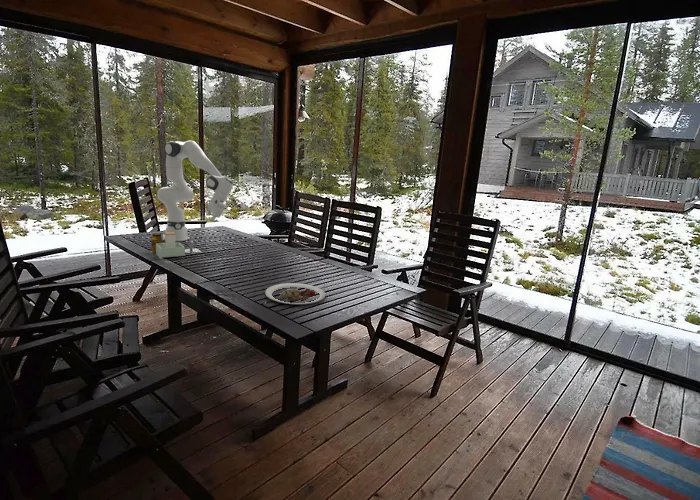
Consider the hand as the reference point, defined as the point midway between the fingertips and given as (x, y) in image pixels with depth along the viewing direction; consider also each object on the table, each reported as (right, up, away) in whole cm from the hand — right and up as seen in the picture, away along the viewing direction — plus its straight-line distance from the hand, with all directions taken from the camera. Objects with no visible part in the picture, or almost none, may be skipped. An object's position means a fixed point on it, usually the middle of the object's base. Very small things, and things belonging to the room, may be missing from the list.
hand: (210, 217), depth 264 cm
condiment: (-30, -23, -10) cm, 39 cm away
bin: (-19, -26, -18) cm, 37 cm away
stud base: (-10, -24, -6) cm, 27 cm away
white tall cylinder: (-19, -25, -18) cm, 36 cm away
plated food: (+68, -45, -68) cm, 106 cm away
